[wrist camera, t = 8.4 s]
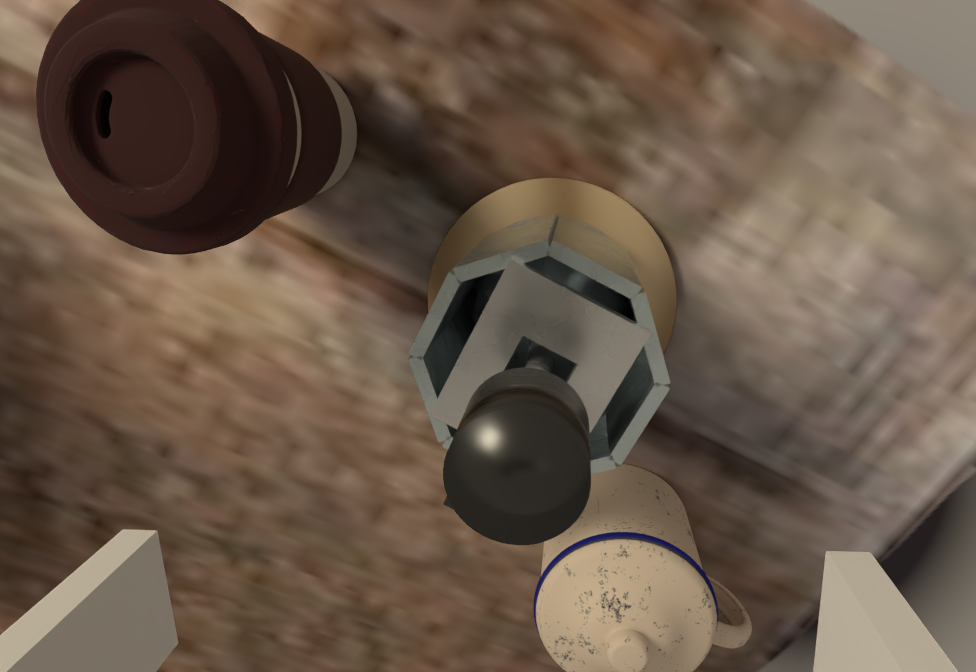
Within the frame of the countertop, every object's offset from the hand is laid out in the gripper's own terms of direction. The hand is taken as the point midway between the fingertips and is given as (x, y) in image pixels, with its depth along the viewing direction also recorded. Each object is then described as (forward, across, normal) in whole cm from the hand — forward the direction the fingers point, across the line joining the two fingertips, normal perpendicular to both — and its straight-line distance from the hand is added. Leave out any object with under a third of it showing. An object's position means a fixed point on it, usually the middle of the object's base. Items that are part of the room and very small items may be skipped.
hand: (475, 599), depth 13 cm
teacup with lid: (+27, +6, -15) cm, 31 cm away
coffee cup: (+27, -13, +10) cm, 32 cm away
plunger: (+24, +1, 0) cm, 24 cm away
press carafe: (+26, 0, -1) cm, 26 cm away
